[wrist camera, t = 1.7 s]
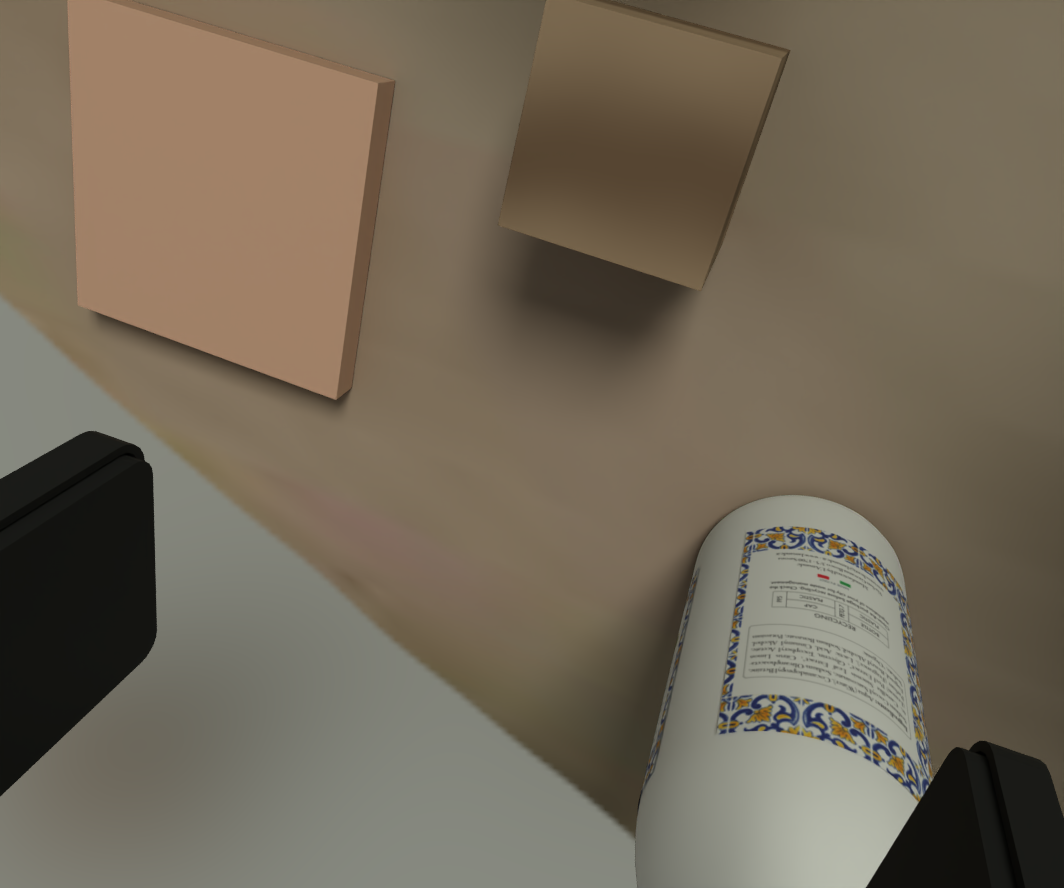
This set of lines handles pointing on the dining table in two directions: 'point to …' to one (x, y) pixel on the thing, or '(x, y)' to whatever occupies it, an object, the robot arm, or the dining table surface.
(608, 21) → the walnut cube
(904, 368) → the dining table surface
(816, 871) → the bath foam
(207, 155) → the terracotta tile
